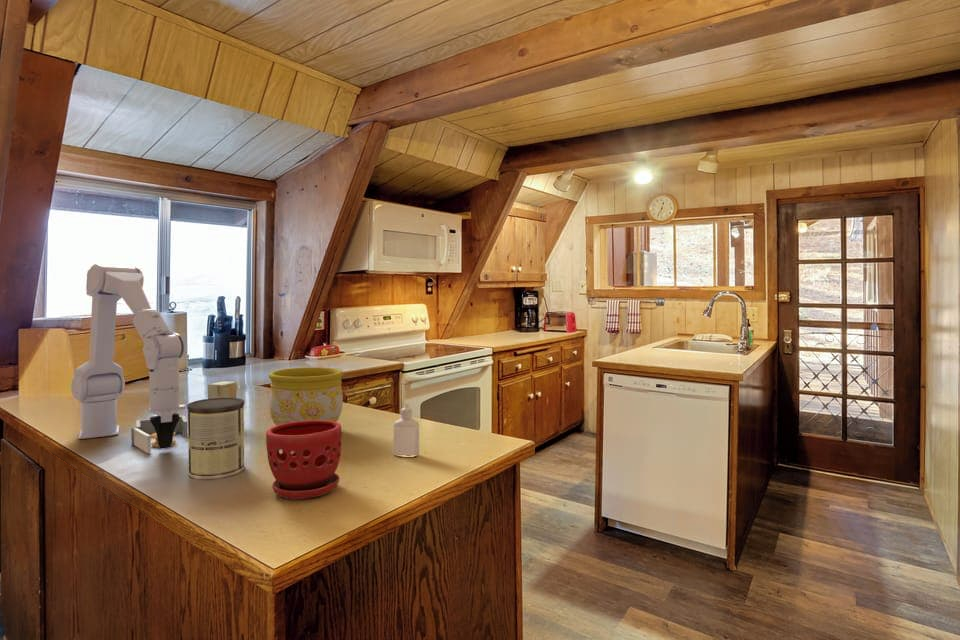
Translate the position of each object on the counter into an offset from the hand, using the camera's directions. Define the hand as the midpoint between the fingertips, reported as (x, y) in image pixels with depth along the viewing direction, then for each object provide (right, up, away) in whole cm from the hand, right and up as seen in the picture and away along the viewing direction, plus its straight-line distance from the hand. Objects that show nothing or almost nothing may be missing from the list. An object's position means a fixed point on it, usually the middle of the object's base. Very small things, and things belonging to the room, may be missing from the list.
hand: (165, 447), depth 117 cm
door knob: (-4, -1, +7) cm, 8 cm away
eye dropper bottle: (+55, -2, 0) cm, 55 cm away
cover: (-7, -1, +2) cm, 7 cm away
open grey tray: (-8, 0, +12) cm, 15 cm away
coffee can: (+18, -2, -12) cm, 22 cm away
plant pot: (+39, -3, -22) cm, 45 cm away
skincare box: (+2, 0, +22) cm, 22 cm away
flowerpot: (+27, -1, +16) cm, 31 cm away
